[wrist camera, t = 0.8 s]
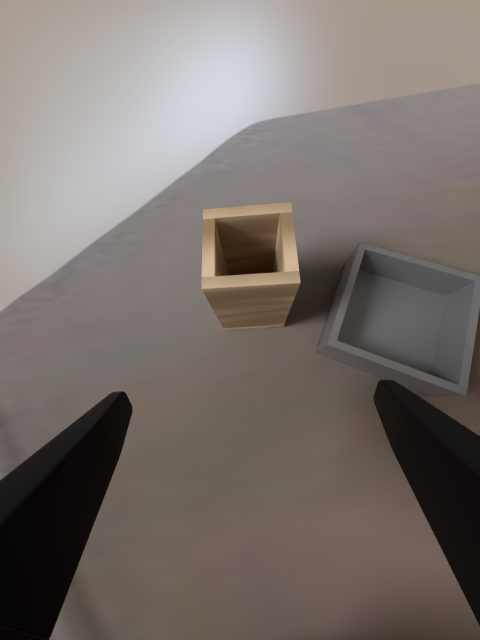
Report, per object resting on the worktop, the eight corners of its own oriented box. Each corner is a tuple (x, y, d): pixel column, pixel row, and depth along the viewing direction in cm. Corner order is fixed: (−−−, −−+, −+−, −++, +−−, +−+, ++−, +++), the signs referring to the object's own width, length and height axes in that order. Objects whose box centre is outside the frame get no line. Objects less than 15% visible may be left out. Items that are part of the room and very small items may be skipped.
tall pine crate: (283, 327, 23) (300, 282, 14) (224, 330, 24) (201, 289, 14) (278, 273, 25) (290, 202, 16) (223, 277, 26) (203, 209, 16)
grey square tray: (427, 395, 21) (466, 396, 17) (315, 352, 22) (327, 344, 19) (446, 296, 23) (484, 277, 19) (344, 264, 25) (360, 241, 21)
